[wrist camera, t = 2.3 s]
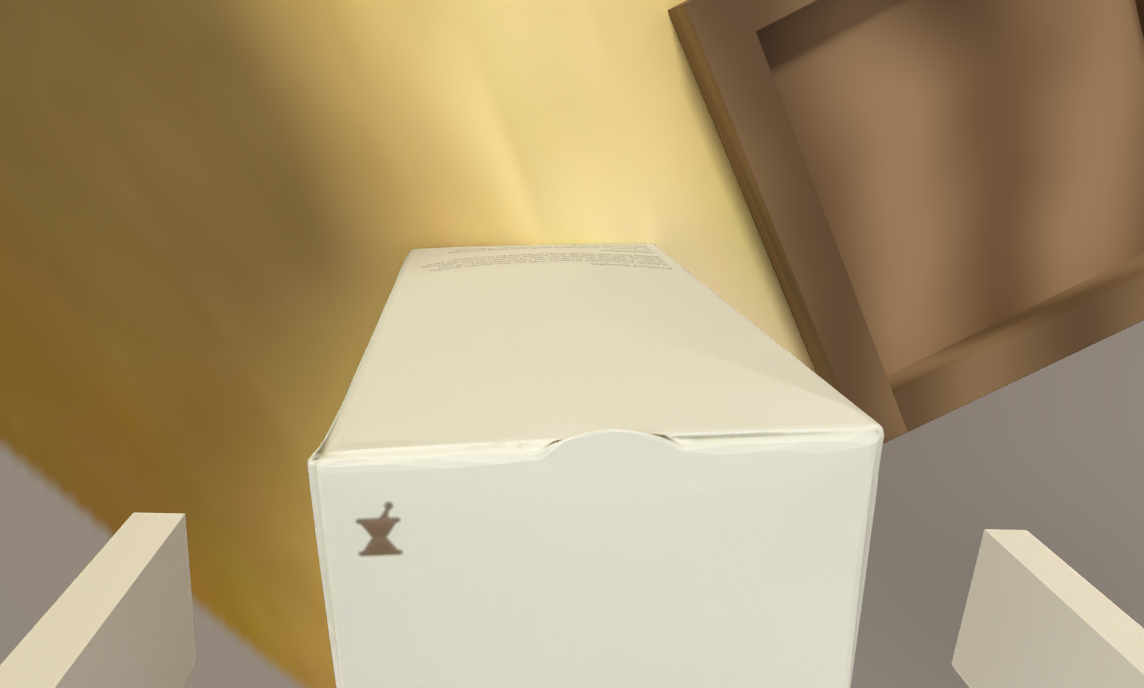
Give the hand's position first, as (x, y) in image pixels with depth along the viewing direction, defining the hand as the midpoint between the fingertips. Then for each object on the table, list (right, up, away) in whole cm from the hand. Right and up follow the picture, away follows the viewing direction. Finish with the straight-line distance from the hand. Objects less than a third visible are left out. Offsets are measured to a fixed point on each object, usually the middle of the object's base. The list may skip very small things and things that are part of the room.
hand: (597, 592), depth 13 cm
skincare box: (-2, +5, +13) cm, 14 cm away
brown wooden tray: (+12, +11, +12) cm, 20 cm away
